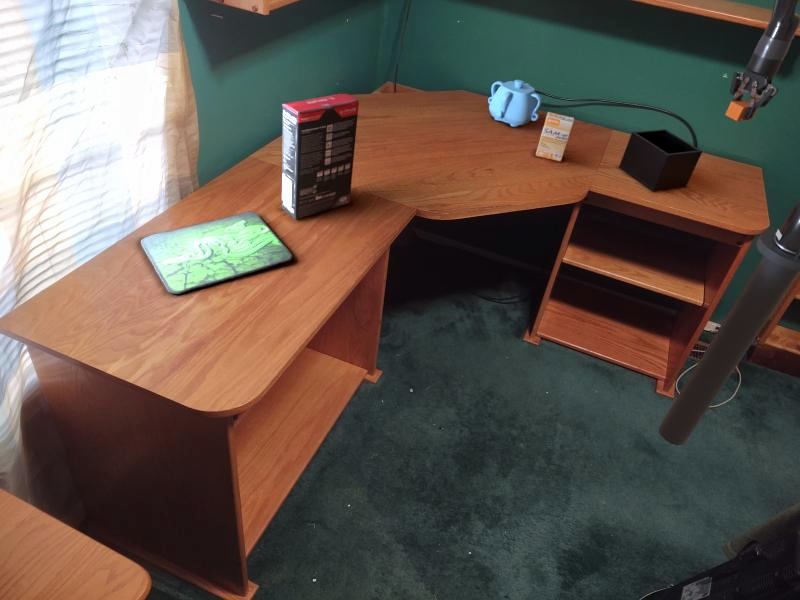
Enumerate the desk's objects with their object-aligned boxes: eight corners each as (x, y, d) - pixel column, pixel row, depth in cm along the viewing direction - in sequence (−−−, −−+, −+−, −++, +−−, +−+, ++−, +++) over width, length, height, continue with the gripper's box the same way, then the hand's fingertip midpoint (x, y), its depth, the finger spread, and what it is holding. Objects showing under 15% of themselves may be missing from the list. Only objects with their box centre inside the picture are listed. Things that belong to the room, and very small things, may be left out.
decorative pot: (490, 126, 201) (499, 87, 193) (484, 108, 214) (492, 70, 205) (537, 131, 203) (547, 92, 194) (528, 113, 215) (538, 75, 206)
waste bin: (686, 186, 182) (702, 151, 175) (652, 191, 177) (668, 155, 170) (651, 163, 193) (665, 128, 185) (618, 167, 188) (632, 132, 180)
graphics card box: (336, 192, 156) (342, 89, 139) (353, 204, 152) (360, 99, 135) (280, 209, 146) (279, 101, 129) (296, 222, 143) (297, 113, 125)
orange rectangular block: (751, 120, 170) (758, 106, 168) (736, 121, 168) (743, 107, 166) (739, 113, 173) (746, 100, 171) (724, 114, 171) (731, 101, 169)
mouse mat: (170, 297, 117) (170, 293, 116) (137, 240, 130) (136, 236, 129) (296, 261, 131) (296, 257, 130) (254, 213, 144) (254, 209, 143)
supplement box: (534, 156, 187) (546, 116, 179) (536, 150, 191) (547, 110, 182) (561, 162, 186) (573, 122, 177) (562, 156, 189) (574, 116, 181)
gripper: (800, 63, 156) (768, 125, 167) (757, 45, 166) (729, 105, 177) (781, 63, 153) (749, 126, 164) (738, 45, 163) (710, 106, 174)
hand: (739, 115), depth 170 cm, fingers closed on orange rectangular block, 4 cm apart
